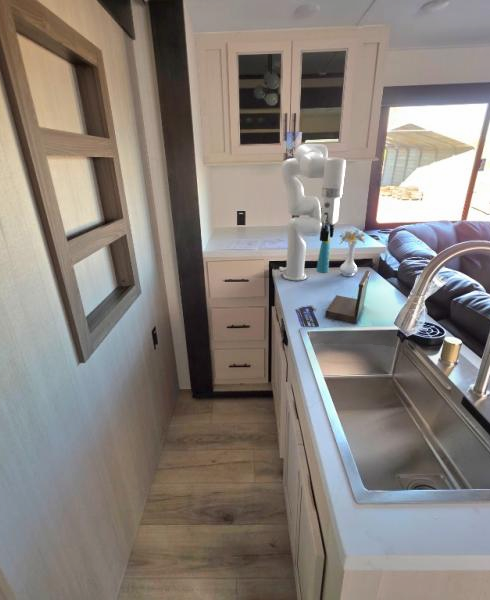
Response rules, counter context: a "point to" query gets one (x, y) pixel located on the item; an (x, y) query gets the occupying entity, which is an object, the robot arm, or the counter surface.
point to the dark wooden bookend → (349, 304)
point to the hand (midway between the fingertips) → (326, 238)
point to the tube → (324, 256)
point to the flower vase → (350, 251)
